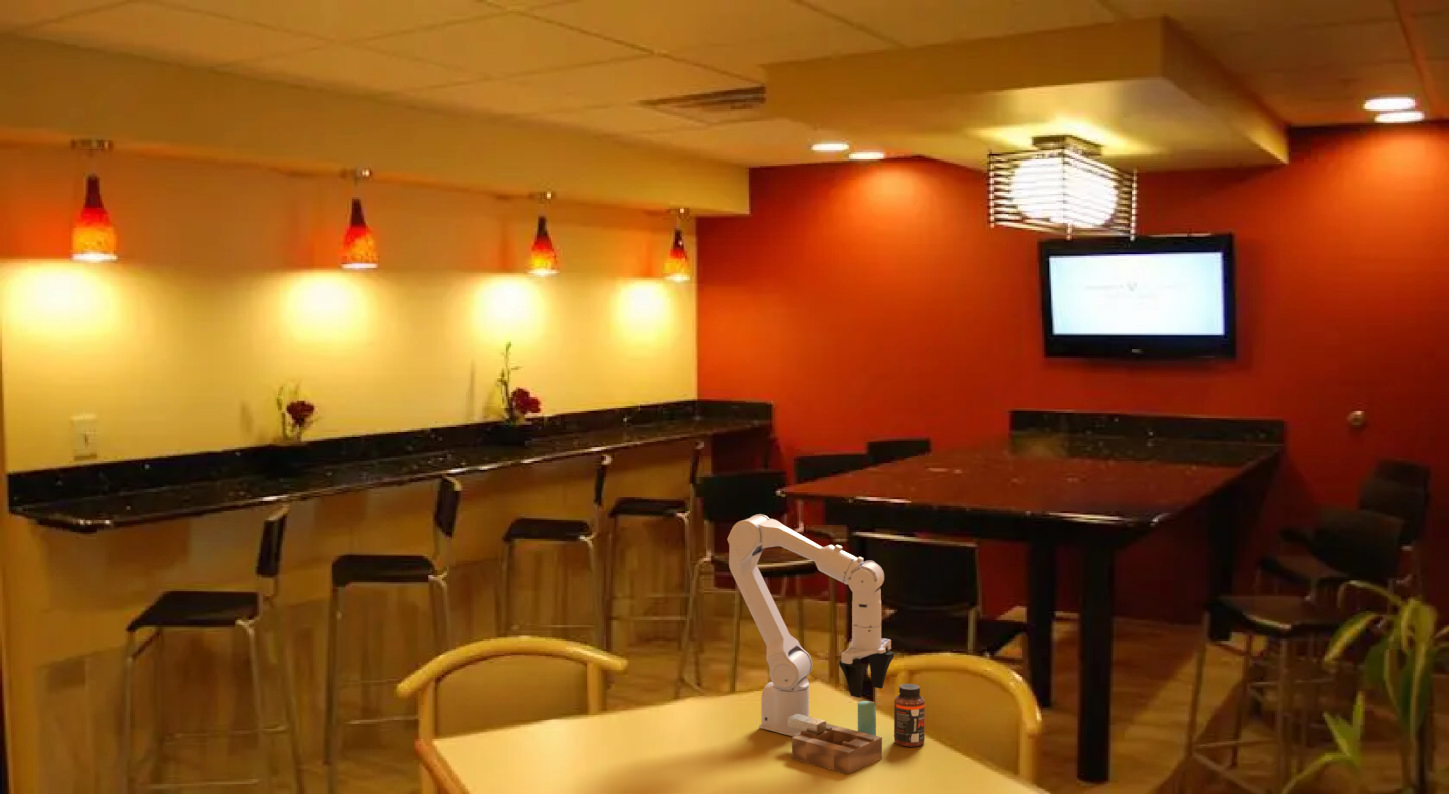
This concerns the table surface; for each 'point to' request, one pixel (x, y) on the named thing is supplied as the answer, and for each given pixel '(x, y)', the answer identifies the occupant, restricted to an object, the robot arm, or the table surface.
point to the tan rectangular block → (807, 723)
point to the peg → (867, 717)
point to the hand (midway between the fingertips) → (866, 692)
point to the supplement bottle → (909, 716)
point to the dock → (837, 748)
